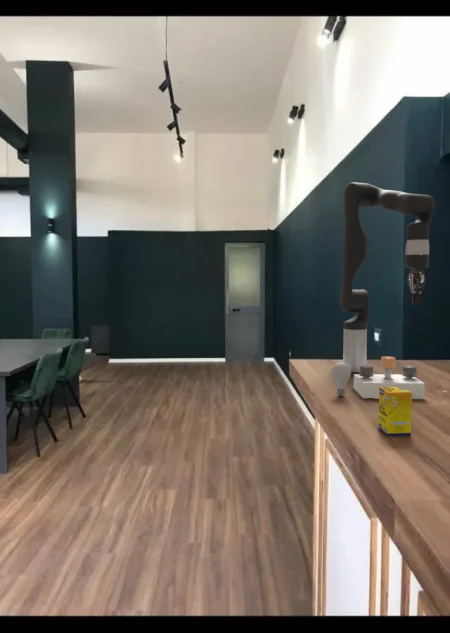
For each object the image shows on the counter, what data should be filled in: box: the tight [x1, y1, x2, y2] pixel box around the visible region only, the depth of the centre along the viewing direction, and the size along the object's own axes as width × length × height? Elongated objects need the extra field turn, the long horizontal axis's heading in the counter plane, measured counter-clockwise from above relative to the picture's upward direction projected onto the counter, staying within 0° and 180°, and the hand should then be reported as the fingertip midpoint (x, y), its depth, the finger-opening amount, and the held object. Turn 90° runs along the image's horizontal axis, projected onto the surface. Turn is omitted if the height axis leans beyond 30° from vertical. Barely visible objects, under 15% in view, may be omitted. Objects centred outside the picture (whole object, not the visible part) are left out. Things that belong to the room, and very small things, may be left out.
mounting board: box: [353, 373, 426, 400], centre depth 161 cm, size 14×19×5 cm
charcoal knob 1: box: [358, 364, 374, 379], centre depth 161 cm, size 4×4×8 cm
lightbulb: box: [331, 361, 352, 397], centre depth 158 cm, size 6×6×11 cm
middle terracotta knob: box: [380, 356, 396, 380], centre depth 161 cm, size 4×4×8 cm
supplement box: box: [378, 387, 413, 438], centre depth 121 cm, size 6×6×11 cm
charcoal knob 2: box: [401, 365, 418, 380], centre depth 161 cm, size 4×4×8 cm
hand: (415, 304), depth 168 cm, fingers closed
